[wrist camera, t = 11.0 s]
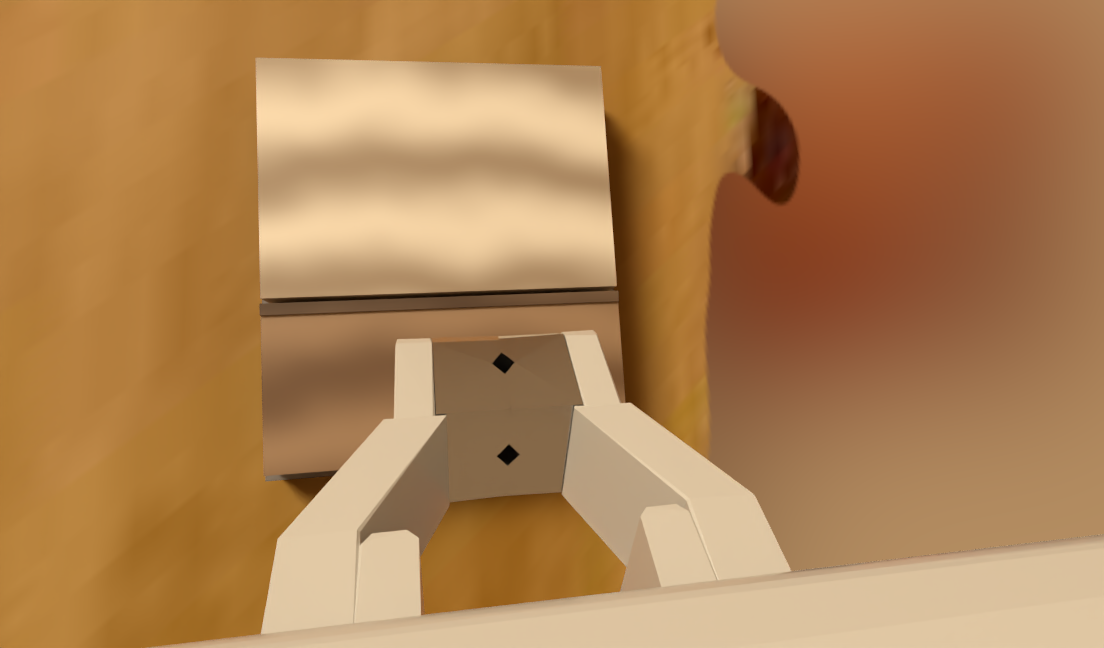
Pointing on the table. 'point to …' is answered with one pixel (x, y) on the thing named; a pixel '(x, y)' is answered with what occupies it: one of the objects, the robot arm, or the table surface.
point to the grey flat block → (386, 362)
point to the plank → (430, 180)
